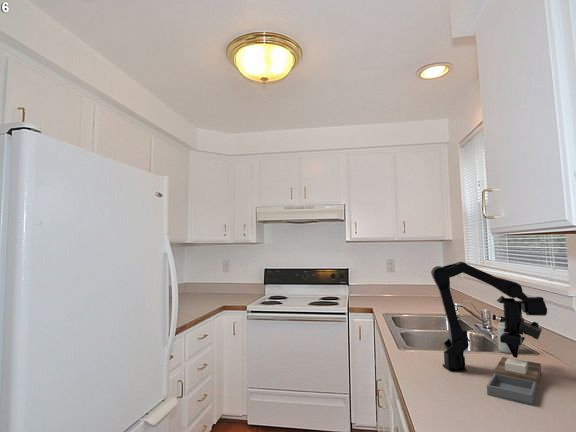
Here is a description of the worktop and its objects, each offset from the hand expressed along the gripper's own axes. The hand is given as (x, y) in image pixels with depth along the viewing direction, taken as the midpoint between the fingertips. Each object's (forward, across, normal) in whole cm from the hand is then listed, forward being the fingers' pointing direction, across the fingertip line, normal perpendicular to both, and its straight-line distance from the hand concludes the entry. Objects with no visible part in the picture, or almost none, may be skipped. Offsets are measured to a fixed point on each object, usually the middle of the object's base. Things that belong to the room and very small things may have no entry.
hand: (515, 357), depth 131 cm
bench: (+6, -6, -1) cm, 8 cm away
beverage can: (+6, +24, +6) cm, 25 cm away
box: (+6, -20, -1) cm, 21 cm away
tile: (+2, -8, -1) cm, 9 cm away
